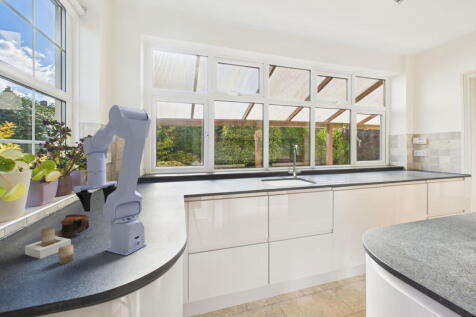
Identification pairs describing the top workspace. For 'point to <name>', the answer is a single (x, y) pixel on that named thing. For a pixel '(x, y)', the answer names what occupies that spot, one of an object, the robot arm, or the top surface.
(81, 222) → the pottery mug
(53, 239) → the long pin
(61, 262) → the short pin
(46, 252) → the collar
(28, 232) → the top surface
